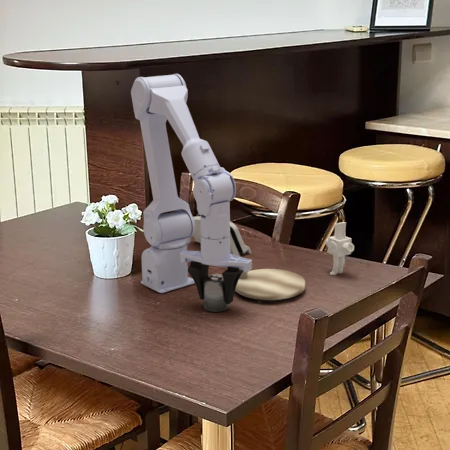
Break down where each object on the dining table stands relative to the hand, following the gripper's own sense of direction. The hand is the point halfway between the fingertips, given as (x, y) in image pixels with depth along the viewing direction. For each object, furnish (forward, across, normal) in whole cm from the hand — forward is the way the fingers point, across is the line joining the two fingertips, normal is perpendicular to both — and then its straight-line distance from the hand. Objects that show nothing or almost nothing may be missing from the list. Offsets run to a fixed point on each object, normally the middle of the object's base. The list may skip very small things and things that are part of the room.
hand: (216, 300), depth 154 cm
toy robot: (+2, -17, -27) cm, 32 cm away
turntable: (+2, -6, -12) cm, 14 cm away
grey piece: (+2, +15, -33) cm, 36 cm away
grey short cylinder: (+1, 0, 0) cm, 1 cm away
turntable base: (+2, -6, -12) cm, 14 cm away
